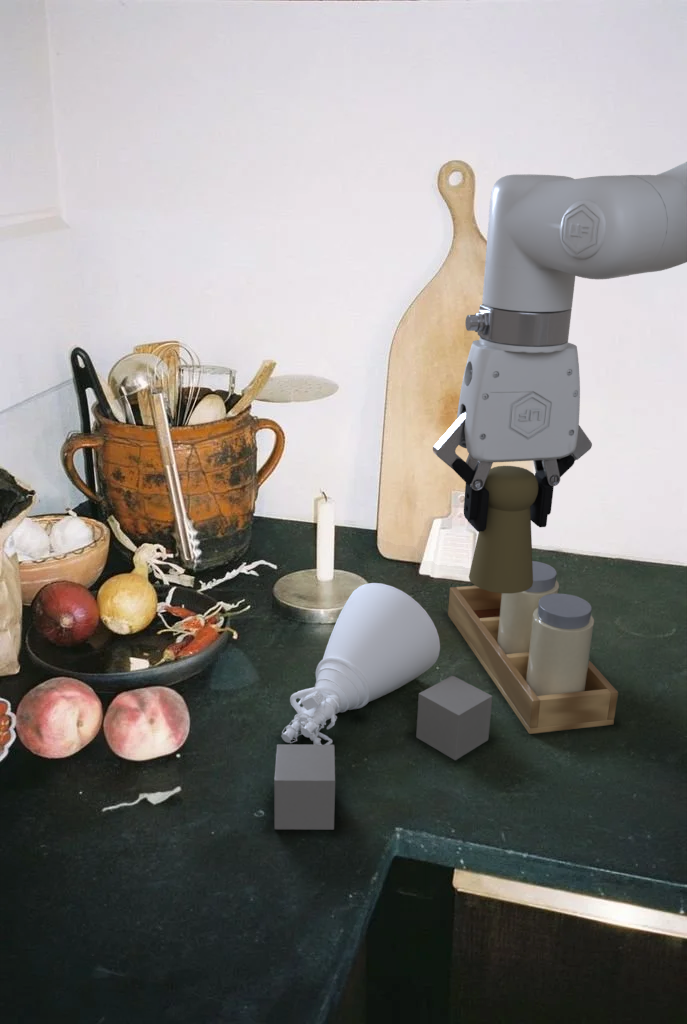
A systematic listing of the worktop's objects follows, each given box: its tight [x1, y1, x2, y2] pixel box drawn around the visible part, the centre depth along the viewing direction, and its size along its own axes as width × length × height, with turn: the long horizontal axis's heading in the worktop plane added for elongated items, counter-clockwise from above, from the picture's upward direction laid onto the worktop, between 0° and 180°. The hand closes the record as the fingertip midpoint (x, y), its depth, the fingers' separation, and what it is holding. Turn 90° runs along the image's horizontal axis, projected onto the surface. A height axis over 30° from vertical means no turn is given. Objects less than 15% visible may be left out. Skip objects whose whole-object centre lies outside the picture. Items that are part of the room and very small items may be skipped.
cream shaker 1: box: [497, 560, 560, 654], centre depth 103 cm, size 6×6×11 cm
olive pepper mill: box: [468, 465, 539, 594], centre depth 87 cm, size 6×6×11 cm
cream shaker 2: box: [526, 592, 595, 696], centre depth 95 cm, size 6×6×11 cm
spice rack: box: [447, 585, 619, 735], centre depth 104 cm, size 9×26×4 cm, turn 12°
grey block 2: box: [415, 675, 493, 761], centre depth 90 cm, size 5×5×5 cm
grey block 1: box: [273, 743, 336, 831], centre depth 80 cm, size 5×5×5 cm
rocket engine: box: [280, 582, 441, 745], centre depth 94 cm, size 12×12×18 cm
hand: (506, 522), depth 87 cm, fingers closed on olive pepper mill, 5 cm apart
